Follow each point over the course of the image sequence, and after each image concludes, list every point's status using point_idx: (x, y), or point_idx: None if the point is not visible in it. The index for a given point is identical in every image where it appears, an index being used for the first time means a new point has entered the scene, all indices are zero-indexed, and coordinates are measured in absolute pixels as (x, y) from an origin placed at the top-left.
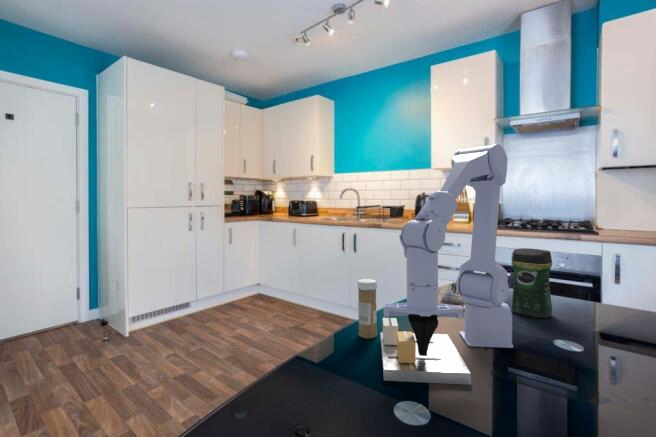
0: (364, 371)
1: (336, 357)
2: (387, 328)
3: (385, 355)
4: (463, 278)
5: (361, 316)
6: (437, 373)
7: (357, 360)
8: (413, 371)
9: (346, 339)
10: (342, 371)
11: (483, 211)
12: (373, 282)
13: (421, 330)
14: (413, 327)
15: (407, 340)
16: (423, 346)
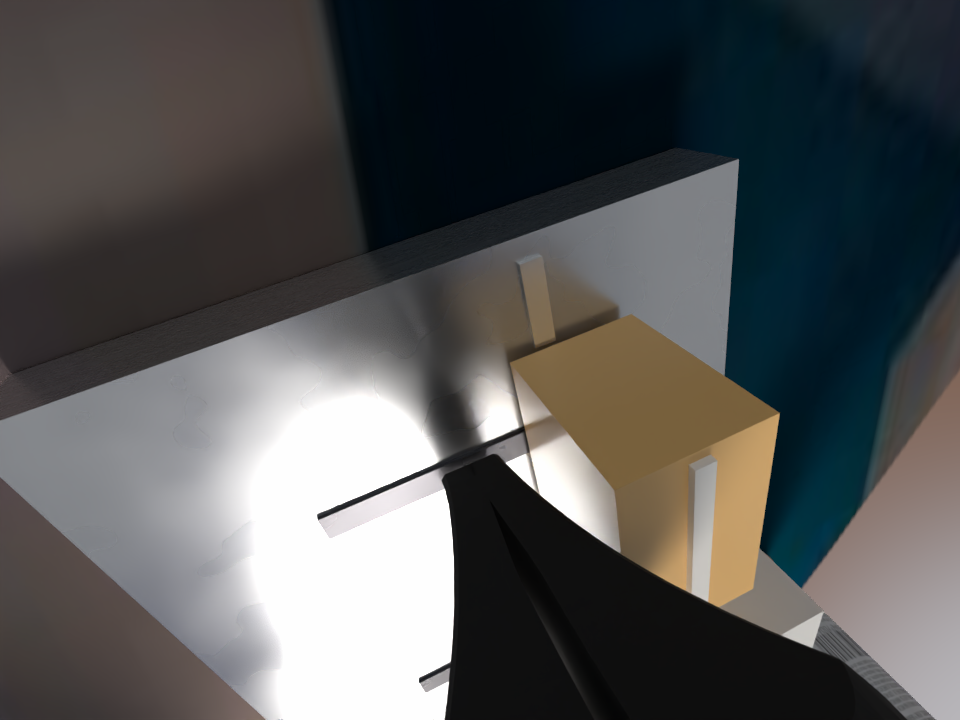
0: (777, 223)
1: (890, 314)
2: (779, 605)
3: None
4: None
5: (860, 651)
6: (303, 307)
7: (798, 334)
8: (511, 237)
9: (818, 500)
10: (892, 167)
11: None
12: None
13: (631, 670)
14: (783, 650)
15: (701, 467)
16: (498, 525)
